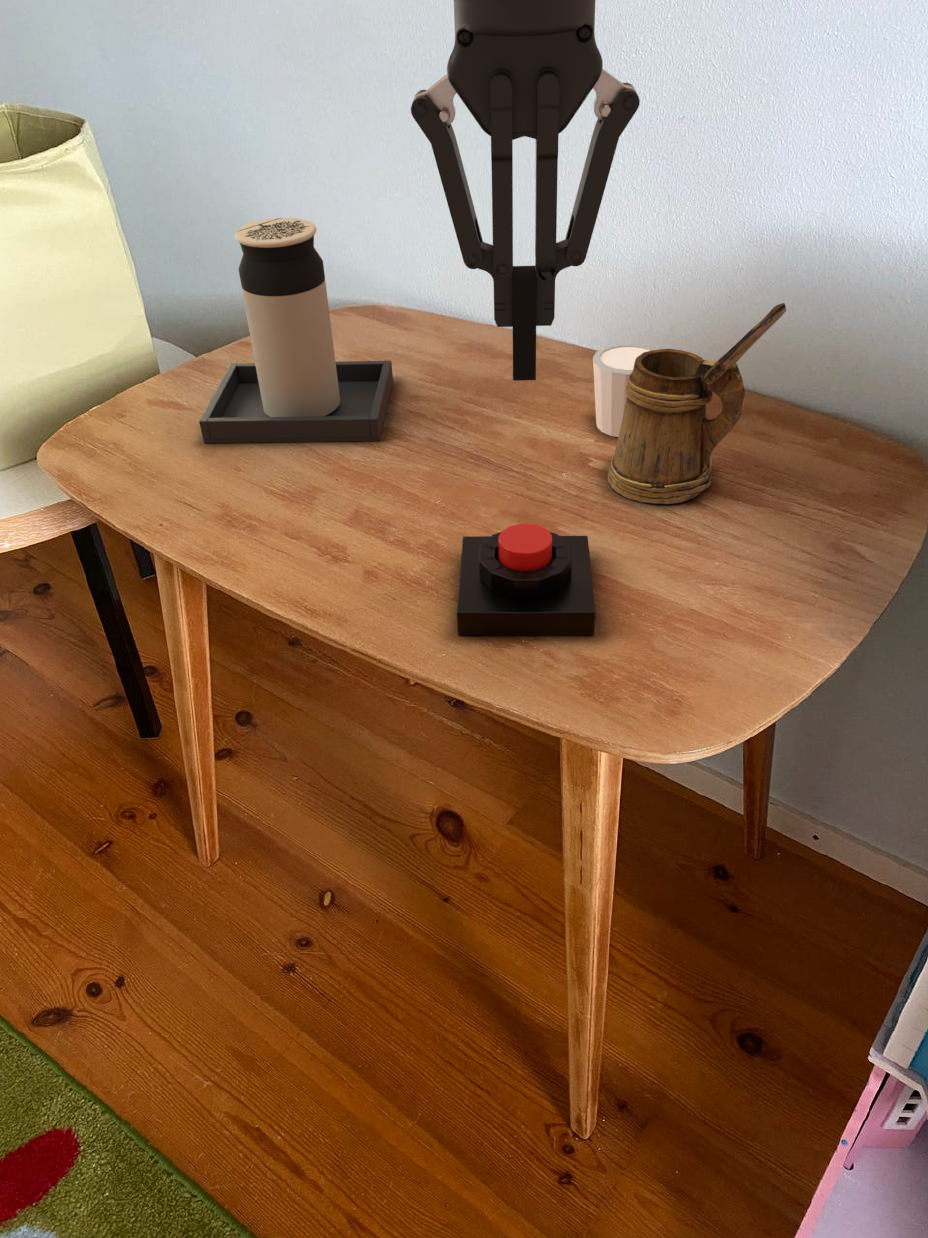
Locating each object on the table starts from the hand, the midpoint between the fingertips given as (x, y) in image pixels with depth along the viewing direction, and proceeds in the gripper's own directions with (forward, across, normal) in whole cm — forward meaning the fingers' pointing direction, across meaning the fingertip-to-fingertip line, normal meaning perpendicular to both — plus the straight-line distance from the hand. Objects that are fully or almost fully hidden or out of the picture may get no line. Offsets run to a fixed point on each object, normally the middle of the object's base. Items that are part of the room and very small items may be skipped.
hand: (524, 371), depth 65 cm
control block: (+18, 0, 0) cm, 18 cm away
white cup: (+18, -10, -28) cm, 35 cm away
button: (+15, 0, 0) cm, 15 cm away
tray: (+18, +23, -32) cm, 43 cm away
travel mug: (+18, +23, -32) cm, 43 cm away
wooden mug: (+19, -14, -16) cm, 28 cm away
